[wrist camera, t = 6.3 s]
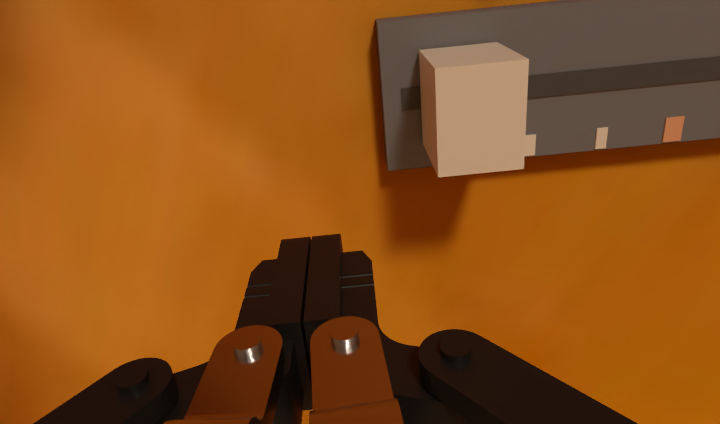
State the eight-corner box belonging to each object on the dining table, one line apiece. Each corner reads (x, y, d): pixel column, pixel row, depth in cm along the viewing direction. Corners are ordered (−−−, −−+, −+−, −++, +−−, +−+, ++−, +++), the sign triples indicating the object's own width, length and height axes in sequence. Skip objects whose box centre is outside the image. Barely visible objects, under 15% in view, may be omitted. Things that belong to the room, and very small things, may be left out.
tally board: (386, 161, 31) (388, 171, 30) (375, 19, 28) (377, 22, 26) (791, 121, 31) (813, 129, 30) (832, -28, 28) (859, -27, 26)
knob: (422, 143, 29) (438, 177, 25) (418, 49, 27) (435, 68, 22) (495, 136, 29) (523, 168, 24) (497, 41, 27) (528, 58, 22)
